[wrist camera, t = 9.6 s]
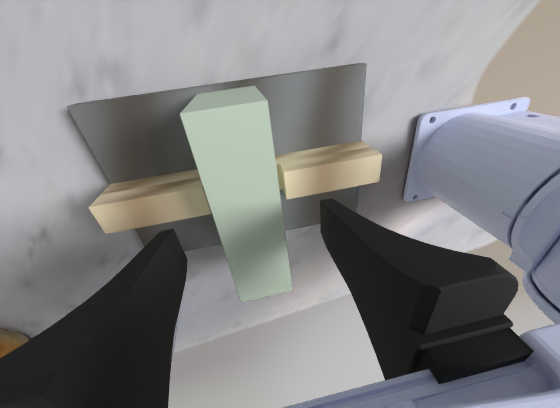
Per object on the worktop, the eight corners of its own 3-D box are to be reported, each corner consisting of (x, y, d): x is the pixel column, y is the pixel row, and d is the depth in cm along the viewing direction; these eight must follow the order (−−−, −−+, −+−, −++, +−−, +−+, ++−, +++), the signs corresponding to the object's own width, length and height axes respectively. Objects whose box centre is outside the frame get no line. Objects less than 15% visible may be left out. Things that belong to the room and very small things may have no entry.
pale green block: (277, 234, 21) (292, 290, 16) (238, 243, 21) (241, 302, 16) (254, 85, 15) (267, 100, 10) (197, 93, 14) (179, 113, 9)
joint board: (359, 63, 16) (393, 64, 13) (350, 210, 22) (372, 237, 19) (76, 103, 14) (29, 117, 11) (154, 249, 21) (140, 286, 18)
